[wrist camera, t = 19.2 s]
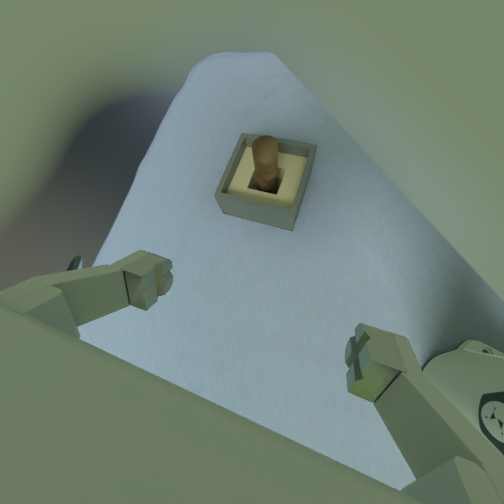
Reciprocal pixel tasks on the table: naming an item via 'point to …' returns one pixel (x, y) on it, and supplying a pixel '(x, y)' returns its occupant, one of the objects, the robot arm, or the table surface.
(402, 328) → the table surface
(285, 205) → the bore box
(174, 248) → the table surface
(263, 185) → the peg
